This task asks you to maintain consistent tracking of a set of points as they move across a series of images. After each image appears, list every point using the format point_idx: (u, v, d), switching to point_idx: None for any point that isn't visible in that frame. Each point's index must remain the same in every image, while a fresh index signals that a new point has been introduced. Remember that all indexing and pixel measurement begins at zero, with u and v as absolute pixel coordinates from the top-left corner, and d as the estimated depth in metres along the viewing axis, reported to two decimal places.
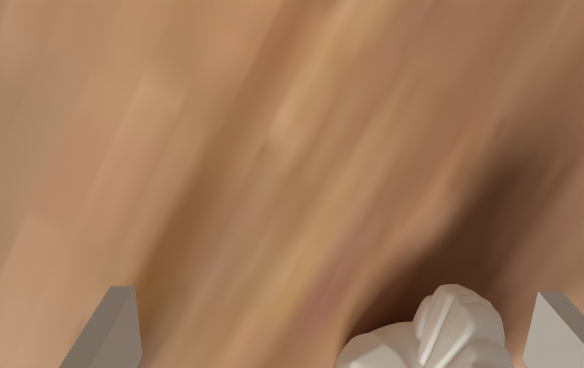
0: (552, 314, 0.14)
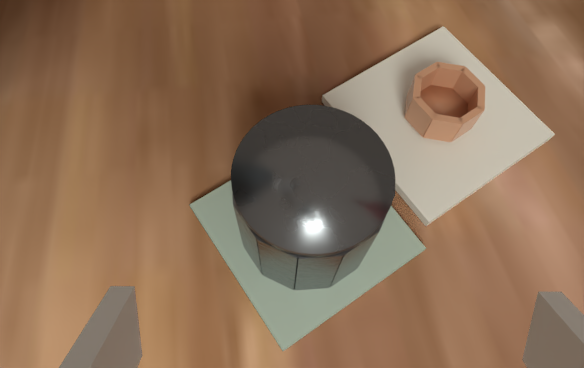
0: (552, 314, 0.14)
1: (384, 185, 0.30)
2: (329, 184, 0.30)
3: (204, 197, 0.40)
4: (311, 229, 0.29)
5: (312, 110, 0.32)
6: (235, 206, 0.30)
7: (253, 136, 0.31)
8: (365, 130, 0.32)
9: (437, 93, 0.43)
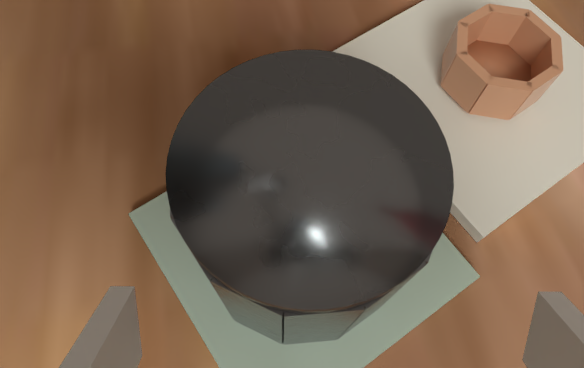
0: (552, 314, 0.14)
1: (434, 182, 0.17)
2: (338, 181, 0.17)
3: (151, 202, 0.27)
4: (307, 262, 0.16)
5: (308, 58, 0.19)
6: (174, 221, 0.17)
7: (208, 101, 0.18)
8: (397, 90, 0.19)
9: (486, 51, 0.31)
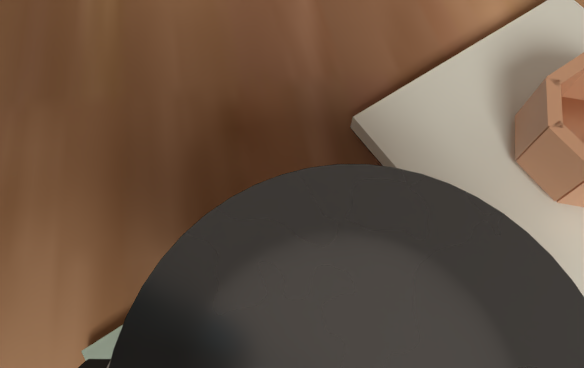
0: None
1: None
2: None
3: (114, 333, 0.19)
4: None
5: (356, 181, 0.11)
6: None
7: (182, 265, 0.10)
8: (514, 243, 0.11)
9: (576, 113, 0.22)
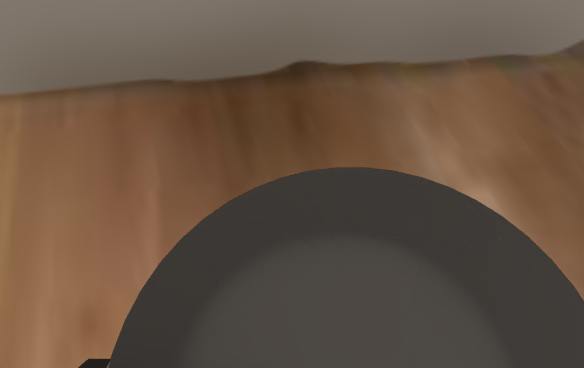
0: None
1: None
2: None
3: None
4: None
5: (355, 184, 0.11)
6: None
7: (181, 269, 0.10)
8: (514, 246, 0.11)
9: None
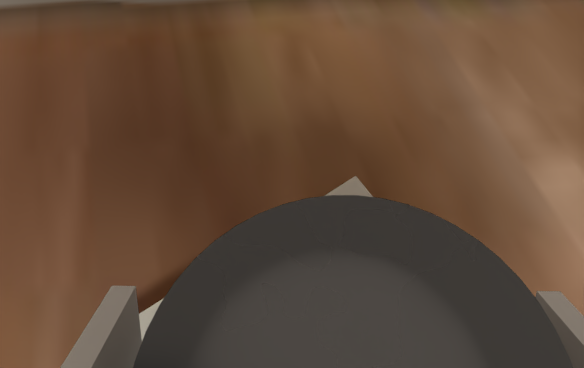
0: (550, 313, 0.14)
1: None
2: None
3: None
4: None
5: (348, 210, 0.13)
6: None
7: (194, 287, 0.12)
8: (487, 267, 0.12)
9: None
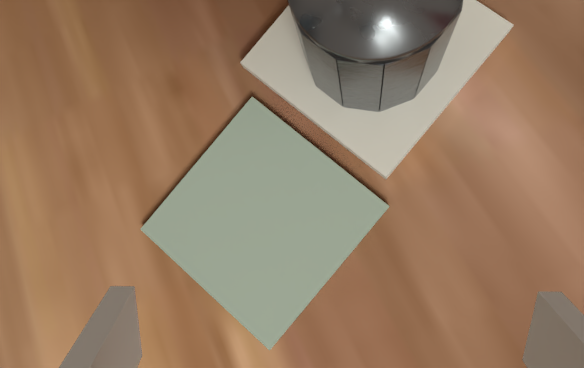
0: (552, 314, 0.14)
1: None
2: None
3: (152, 217, 0.39)
4: (390, 30, 0.27)
5: None
6: (304, 34, 0.29)
7: None
8: None
9: None
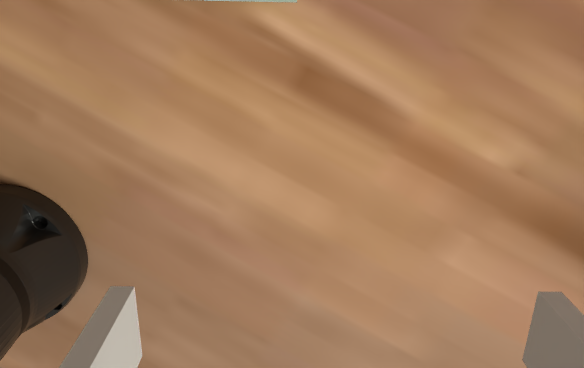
0: (552, 314, 0.14)
1: None
2: None
3: None
4: None
5: None
6: None
7: None
8: None
9: None
